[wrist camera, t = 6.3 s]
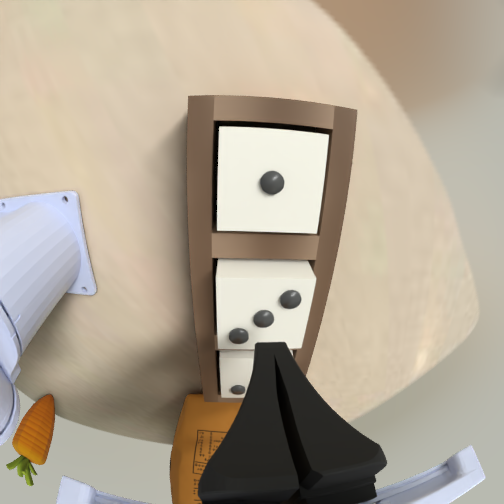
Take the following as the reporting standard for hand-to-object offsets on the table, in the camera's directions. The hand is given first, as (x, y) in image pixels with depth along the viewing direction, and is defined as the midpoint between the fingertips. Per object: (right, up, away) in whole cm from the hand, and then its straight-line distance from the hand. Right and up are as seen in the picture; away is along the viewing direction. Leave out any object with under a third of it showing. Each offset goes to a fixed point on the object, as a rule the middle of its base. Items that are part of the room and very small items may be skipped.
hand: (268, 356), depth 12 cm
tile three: (0, +3, +5) cm, 6 cm away
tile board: (0, +3, +7) cm, 7 cm away
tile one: (0, +9, +3) cm, 10 cm away
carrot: (-28, -15, +14) cm, 35 cm away
